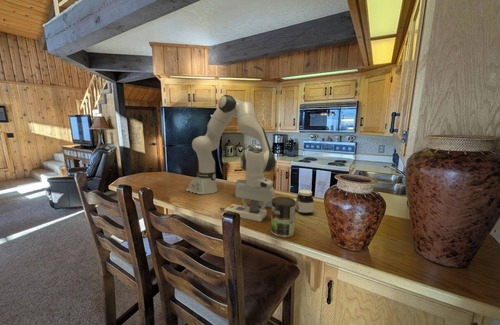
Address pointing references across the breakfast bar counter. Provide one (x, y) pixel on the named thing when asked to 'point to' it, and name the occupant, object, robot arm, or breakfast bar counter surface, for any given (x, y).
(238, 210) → the power strip
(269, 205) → the phone slab
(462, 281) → the breakfast bar counter surface
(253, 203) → the charger plug
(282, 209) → the coffee can
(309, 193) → the spread jar
